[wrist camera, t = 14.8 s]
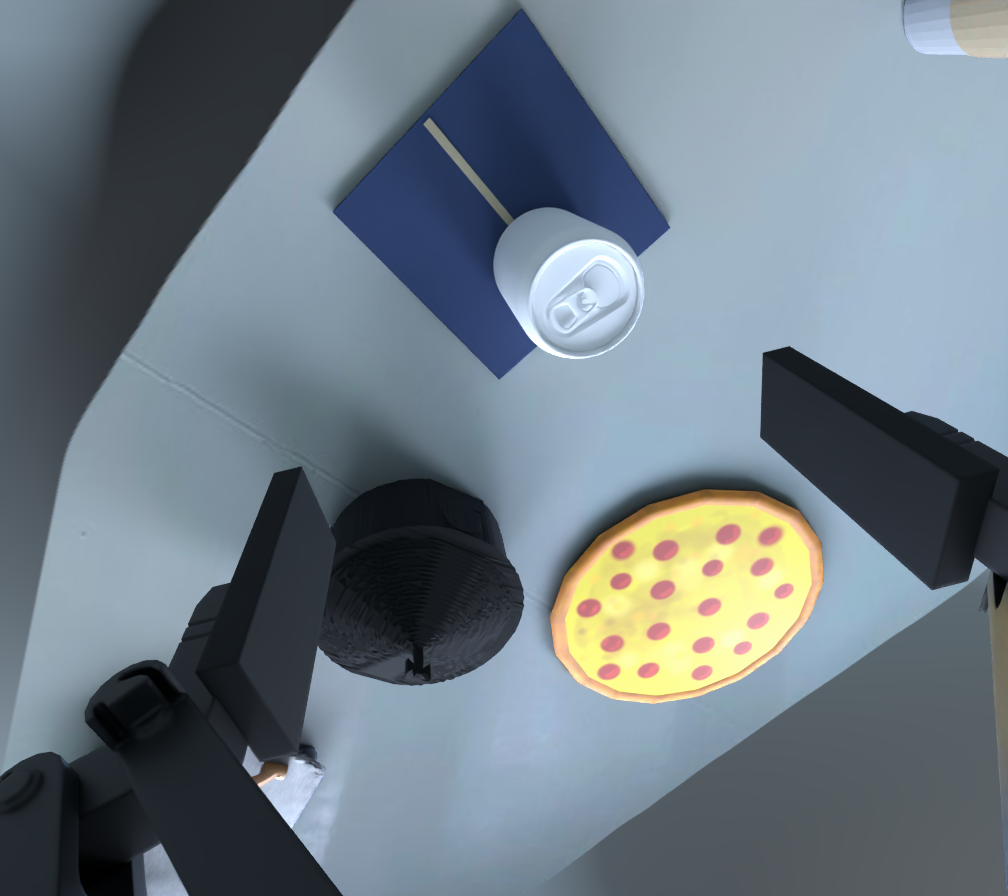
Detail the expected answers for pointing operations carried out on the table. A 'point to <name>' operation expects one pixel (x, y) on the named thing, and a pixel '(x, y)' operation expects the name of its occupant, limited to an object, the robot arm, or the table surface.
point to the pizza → (687, 595)
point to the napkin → (493, 187)
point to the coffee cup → (958, 27)
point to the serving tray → (283, 786)
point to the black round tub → (418, 585)
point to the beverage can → (569, 282)
